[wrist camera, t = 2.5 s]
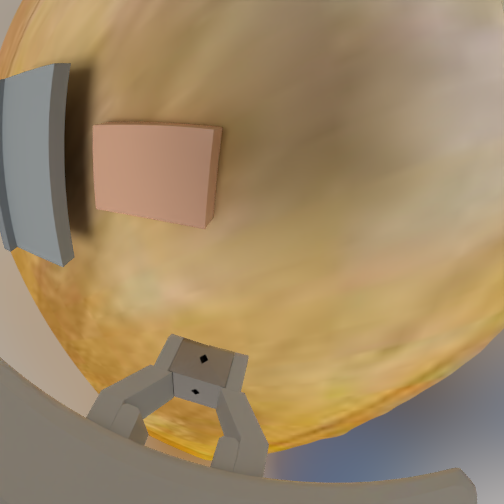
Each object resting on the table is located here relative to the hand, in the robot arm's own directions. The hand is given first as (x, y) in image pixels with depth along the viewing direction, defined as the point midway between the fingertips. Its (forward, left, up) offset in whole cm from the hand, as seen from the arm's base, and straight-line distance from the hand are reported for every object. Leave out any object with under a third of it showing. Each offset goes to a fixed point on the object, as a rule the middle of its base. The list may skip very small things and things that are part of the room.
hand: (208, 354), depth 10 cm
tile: (0, -13, -21) cm, 25 cm away
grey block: (0, -29, -21) cm, 35 cm away
